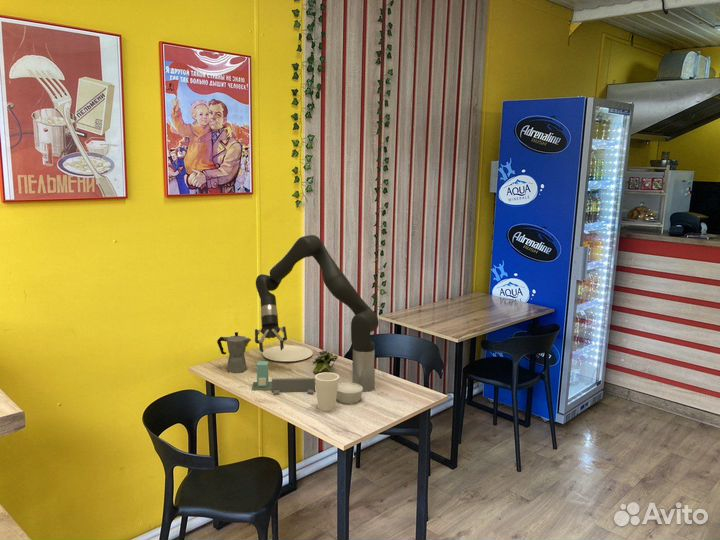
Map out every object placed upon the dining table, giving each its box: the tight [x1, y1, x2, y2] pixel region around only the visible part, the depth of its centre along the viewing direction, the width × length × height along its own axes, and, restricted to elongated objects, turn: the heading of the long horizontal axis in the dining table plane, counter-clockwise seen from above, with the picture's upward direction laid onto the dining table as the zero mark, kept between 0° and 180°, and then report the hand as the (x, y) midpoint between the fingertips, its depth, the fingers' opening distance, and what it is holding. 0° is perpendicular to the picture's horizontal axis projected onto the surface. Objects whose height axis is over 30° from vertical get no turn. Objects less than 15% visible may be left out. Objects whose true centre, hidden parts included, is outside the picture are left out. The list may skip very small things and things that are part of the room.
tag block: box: [256, 360, 269, 388], centre depth 238 cm, size 4×5×10 cm
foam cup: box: [314, 371, 340, 413], centre depth 218 cm, size 10×9×13 cm
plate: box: [262, 344, 314, 363], centre depth 281 cm, size 25×25×2 cm
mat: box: [251, 381, 272, 392], centre depth 239 cm, size 9×9×1 cm
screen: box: [271, 377, 316, 396], centre depth 233 cm, size 18×4×6 cm, turn 96°
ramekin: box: [336, 382, 363, 405], centre depth 228 cm, size 11×11×5 cm
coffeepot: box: [216, 331, 252, 374], centre depth 257 cm, size 15×9×18 cm, turn 91°
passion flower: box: [311, 350, 339, 374], centre depth 259 cm, size 11×11×12 cm
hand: (271, 350), depth 251 cm, fingers open, 8 cm apart
